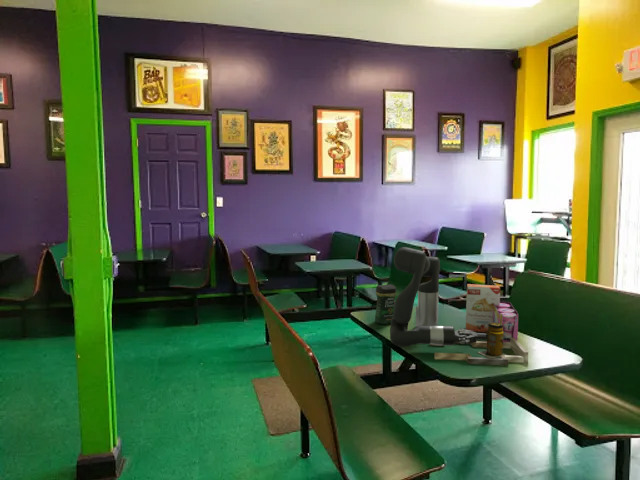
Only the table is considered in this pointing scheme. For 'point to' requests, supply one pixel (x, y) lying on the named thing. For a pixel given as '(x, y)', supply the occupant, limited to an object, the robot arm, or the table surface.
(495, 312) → the gum box
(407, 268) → the robot arm
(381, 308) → the coffee jar
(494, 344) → the condiment
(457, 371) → the table surface
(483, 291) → the cracker box
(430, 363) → the table surface
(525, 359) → the lane
